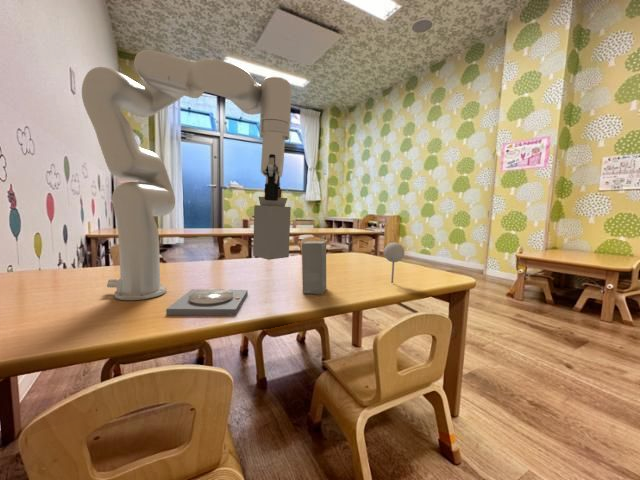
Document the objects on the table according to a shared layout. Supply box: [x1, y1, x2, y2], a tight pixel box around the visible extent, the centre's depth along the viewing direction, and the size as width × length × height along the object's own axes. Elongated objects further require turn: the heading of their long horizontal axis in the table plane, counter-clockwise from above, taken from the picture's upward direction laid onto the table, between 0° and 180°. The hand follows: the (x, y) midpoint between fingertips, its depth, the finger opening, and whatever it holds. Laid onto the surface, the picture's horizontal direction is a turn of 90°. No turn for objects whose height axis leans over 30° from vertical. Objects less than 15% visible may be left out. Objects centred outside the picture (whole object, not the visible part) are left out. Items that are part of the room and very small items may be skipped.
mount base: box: [165, 288, 248, 316], centre depth 75 cm, size 16×16×2 cm
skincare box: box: [301, 240, 327, 296], centre depth 89 cm, size 8×7×16 cm
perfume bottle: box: [252, 187, 291, 260], centre depth 75 cm, size 7×7×18 cm
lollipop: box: [383, 241, 405, 284], centre depth 101 cm, size 7×7×15 cm
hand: (272, 200), depth 74 cm, fingers closed on perfume bottle, 7 cm apart
